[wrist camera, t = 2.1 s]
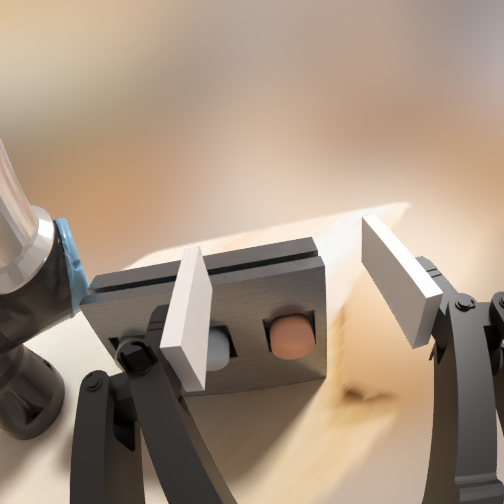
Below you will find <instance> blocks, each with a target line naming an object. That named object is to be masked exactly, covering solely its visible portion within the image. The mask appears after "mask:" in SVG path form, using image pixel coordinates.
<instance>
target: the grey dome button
mask: <svg viewBox="0 0 504 504" xmlns="http://www.w3.org/2000/svg"><path fill="white" fill-rule="evenodd" d="M228 362H229V336H228V334H227V333H226V332H225V331H224V330H223V329H221V328H219V327H216V326H214V327H209V334H208V348H207V361H206V371H216V370H220V369H222V368H224V367H225V366H226V365H227V364H228Z"/></svg>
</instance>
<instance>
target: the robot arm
mask: <svg viewBox="0 0 504 504" xmlns="http://www.w3.org/2000/svg"><path fill="white" fill-rule="evenodd" d="M362 263H363V264H364V266H365V268H366V269H367V271H368V272H369V274H370V276H371V277H372V279H373V281H374V282H375V284H376V286H377V287H378V289H379V290H380V292H381V294H382V295H383V297H384V299H385V301H386V302H387V304H388V306H389V307H390V309H391V311H392V313H393V314H394V316H395V318H396V320H397V321H398V323H399V325H400V327H401V329H402V330H403V332H404V334H405V336H406V338H407V339H408V341H409V343H410V345H411V347H412V349H414V348H418V347H421V346H423V345H426V344H428V342H429V339H430V337H431V334H432V336H433V337H434V339H435V344H434V346H433V349H432V352H431V354H430V358H429V360H432V357H433V355H434V413H433V429H432V441H431V451H430V461H429V467H428V474H427V481H426V487H425V493H424V497H423V501H422V504H503V502H504V485H503V483H502V482H501V481H499V480H498V479H497V476H496V469H497V424H496V410H497V413H498V417H499V420H500V424H501V427H502V431H503V435H504V344H503V342H502V341H503V339H504V292H498V293H495V294H494V296H493V298H492V300H491V302H480V303H477V302H476V301H475V299H474V298H472V297H471V296H469V295H467V294H463V293H458V292H457V291H456V290H455V289H454V288H453V286H452V285H451V284H450V283H449V281H447V279H446V278H445V277H444V276H443V275H442V273H441V272H440V271H439V270H437V268H436V266H435V265H434V264H433V263H432V262H431V261H430V260H428V259H426V258H424V257H423V256H421V257H416V258H414V257H413V255H412V254H411V253H410V252H409V251H408V250H407V249H406V247H405V246H404V245H403V244H402V243H401V242H400V241H399V240H398V239H397V238H396V236H395V235H394V234H393V233H392V232H391V231H390V230H389V229H388V228H387V227H386V226H385V224H384V223H383V222H382V221H381V220H380V219H379V218H378V217H377V216H376V215H370V216H364V217H362ZM88 288H89V283H88V280H87V277H86V275H85V272H84V269H83V267H82V264H81V262H80V258H79V255H78V252H77V249H76V246H75V243H74V240H73V237H72V235H71V231H70V228H69V226H68V222H67V220H66V219H65V218H59V219H57V218H56V219H54V220H53V221H52V218H51V217H50V215H49V214H48V213H47V211H45V210H44V209H42V208H40V207H37V206H32V205H31V206H30V205H29V203H28V201H27V199H26V197H25V194H24V192H23V190H22V188H21V186H20V184H19V182H18V179H17V178H16V175H15V173H14V170H13V168H12V166H11V163H10V161H9V158H8V156H7V154H6V151H5V148H4V146H3V143H2V140H1V138H0V426H1V427H2V428H3V429H4V430H5V431H6V432H7V433H9V434H10V435H11V436H13V437H15V438H17V439H30V438H33V437H35V436H37V435H39V434H41V433H42V432H43V431H45V430H46V429H47V428H48V427H49V426H50V425H51V423H52V422H53V421H54V419H55V418H56V416H57V415H58V413H59V411H60V408H61V406H62V403H63V399H64V382H63V379H62V377H61V375H60V374H59V372H58V371H57V370H56V369H55V368H54V367H53V365H52V364H50V363H49V362H48V361H46V360H45V359H43V358H42V357H40V356H39V355H37V354H36V353H34V352H33V351H31V350H30V349H28V348H27V347H25V346H24V345H23V343H24V342H26V341H28V340H30V339H31V338H33V337H35V336H37V335H39V334H40V333H42V332H44V331H46V330H48V329H50V328H52V327H54V326H55V325H57V324H59V323H61V322H63V321H65V320H67V319H69V318H73V317H74V316H75V314H76V313H78V312H80V311H81V309H80V307H79V303H80V302H81V300H82V298H83V296H85V295H90V294H89V292H88V290H87V289H88ZM211 299H212V286H211V283H210V279H209V276H208V273H207V270H206V267H205V263H204V260H203V257H202V254H201V250H200V247H199V246H195V247H189V248H185V249H184V253H183V256H182V260H181V264H180V267H179V271H178V275H177V278H176V282H175V286H174V290H173V294H172V298H171V302H170V304H165V305H158V306H157V307H156V309H155V310H154V311H153V312H152V314H151V317H150V320H149V324H148V327H147V331H146V334H145V337H144V339H133V340H130V341H128V342H126V343H125V344H123V345H122V346H121V348H120V349H119V350H118V352H117V357H116V359H117V361H118V362H119V364H120V365H121V366H122V368H123V369H124V370H125V372H122V373H119V374H116V375H113V376H110V377H109V376H108V375H107V373H106V372H104V371H102V370H96V371H93V372H90V373H89V374H88V375H86V376H85V378H84V379H83V380H82V383H81V385H80V391H79V397H78V404H77V411H76V418H75V426H74V435H73V445H72V457H71V473H70V504H145V495H144V485H143V472H142V457H141V435H140V426H141V429H142V432H143V435H144V439H145V442H146V445H147V448H148V451H149V454H150V457H151V459H152V462H153V465H154V468H155V471H156V473H157V476H158V478H159V481H160V484H161V486H162V489H163V491H164V494H165V496H166V498H167V501H168V503H169V504H237V502H236V500H235V499H234V497H233V495H232V494H231V492H230V490H229V488H228V487H227V485H226V483H225V481H224V480H223V478H222V476H221V474H220V472H219V470H218V469H217V467H216V465H215V463H214V461H213V459H212V457H211V455H210V453H209V451H208V449H207V447H206V445H205V443H204V441H203V439H202V437H201V435H200V433H199V431H198V429H197V427H196V425H195V423H194V420H193V418H192V416H191V414H190V412H189V409H188V407H187V405H186V403H185V400H184V398H183V397H182V395H181V394H180V393H181V385H182V386H183V387H184V389H185V391H186V392H190V391H204V390H205V376H206V361H207V348H208V334H209V322H210V310H211Z"/></svg>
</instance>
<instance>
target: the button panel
mask: <svg viewBox="0 0 504 504" xmlns="http://www.w3.org/2000/svg"><path fill="white" fill-rule="evenodd" d="M202 257H203V260H204V263H205V267H206V270H207V273H208V276H209V279H210V283H211V286H212V299H211V310H210V322H209V327H214V326H216V327H219V328H221V329H223V330H224V331H225V332H226V333H227V334H228V336H229V362H228V364H227V365H226V366H225V367H224V368H222V369H220V370H216V371H206V376H205V390H204V391H190V392H186V391H185V389H184V387H183V386H182V385H181V393H180V394H181V395H182V396H198V395H210V394H222V393H231V392H240V391H248V390H256V389H263V388H270V387H276V386H283V385H288V384H294V383H300V382H305V381H310V380H315V379H320V378H325V377H326V374H327V319H326V283H325V265H324V263H323V261H322V259H321V256H318V250H317V248H316V245H315V243H314V241H313V239H312V237H308V238H302V239H296V240H291V241H285V242H279V243H274V244H268V245H263V246H257V247H251V248H246V249H240V250H235V251H229V252H224V253H218V254H212V255H207V256H202ZM180 264H181V260H179V261H174V262H168V263H163V264H157V265H152V266H146V267H141V268H135V269H130V270H125V271H119V272H114V273H108V274H103V275H97V276H95V278H94V279H93V281H92V283H91V284H90V286H89V288H88V289H87V290H88V292H89V294H90V295H85V296H83V298H82V300H81V302H80V303H79V307H80V309H81V311H82V312H83V314H84V315H85V317H86V319H87V320H88V322H89V323H90V325H91V327H92V328H93V330H94V331H95V333H96V334H97V336H98V337H99V339H100V340H101V342H102V343H103V345H104V346H105V348H106V349H107V351H108V352H109V354H110V355H111V356H112V358H113V359H114V358H115V355H116V352H117V349H118V346H119V343H120V340H121V338H122V337H125V336H136V335H141V336H144V337H145V334H146V331H147V327H148V324H149V320H150V317H151V314H152V312H153V311H154V310H155V309H156V307H157V306H158V305H165V304H170V302H171V298H172V294H173V290H174V286H175V282H176V278H177V275H178V271H179V267H180ZM294 313H302V314H304V315H305V316H307V317H308V319H309V321H310V325H311V328H312V332H313V335H314V339H315V345H314V348H313V349H312V350H311V352H309V353H308V354H307V355H305V356H303V357H301V358H298V359H292V360H287V359H281V358H279V357H277V356H275V355H274V353H273V352H272V348H271V340H270V333H269V326H270V323H271V322H272V320H273V319H274V318H275V317H278V316H283V315H289V314H294ZM123 372H124V371H123Z"/></svg>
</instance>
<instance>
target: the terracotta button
mask: <svg viewBox="0 0 504 504" xmlns="http://www.w3.org/2000/svg"><path fill="white" fill-rule="evenodd" d="M269 333H270V340H271V348H272V352H273V353H274V355H275V356H277V357H279V358H281V359H287V360H292V359H298V358H301V357H303V356H305V355H307V354H308V353H309V352H311V350H312V349H313V348H314V345H315V339H314V335H313V332H312V328H311V325H310V321H309V319H308V317H307V316H305V315H304V314H302V313H294V314H289V315H283V316H278V317H275V318H274V319H273V320H272V322H271V323H270V326H269Z"/></svg>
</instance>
